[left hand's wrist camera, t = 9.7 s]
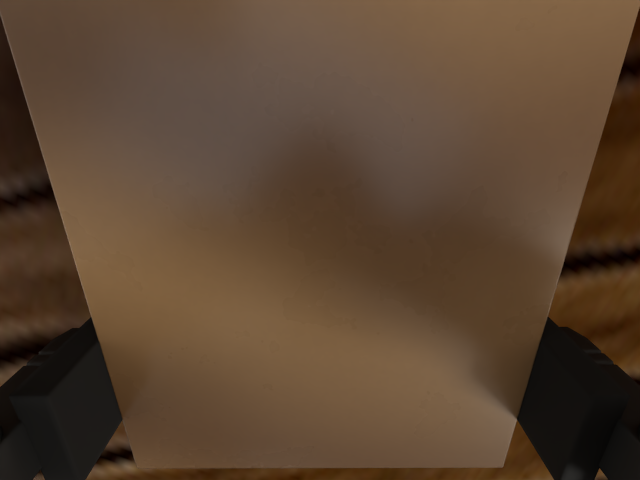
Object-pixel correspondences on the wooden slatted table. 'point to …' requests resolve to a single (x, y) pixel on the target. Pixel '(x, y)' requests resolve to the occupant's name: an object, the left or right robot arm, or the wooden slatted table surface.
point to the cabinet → (319, 212)
